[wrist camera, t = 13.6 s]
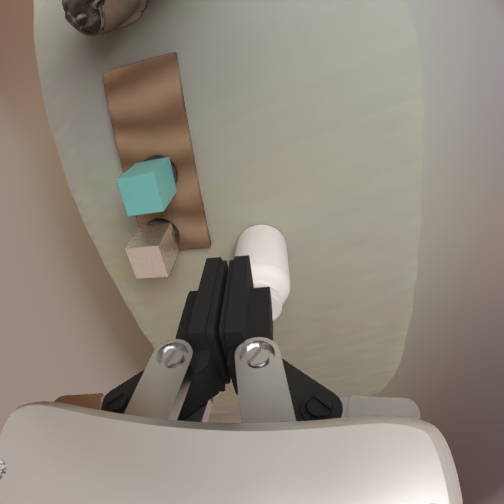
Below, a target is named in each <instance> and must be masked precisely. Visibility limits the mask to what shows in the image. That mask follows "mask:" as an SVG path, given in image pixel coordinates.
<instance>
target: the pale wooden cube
mask: <svg viewBox="0 0 504 504" xmlns="http://www.w3.org/2000/svg"><path fill="white" fill-rule="evenodd" d="M179 239H180V235H179V231H178V229H177V227H176V226H175V225H174V224H173V223H172V222H170V221H169V220H167V219H163V218H156V219H153V220H151V221H149V222H148V223H147V225H144V226H140V227H139V229H138V230H137V232H136V233H135V235H134V236H133V238H132V239H131V241H130V242H129V244H128V245H127V247H126V248H125V250H126V253H127V255H128V258H129V261H130V263H131V266H132V269H133V271H134V274H135V276H136V278H155V277H169V274H170V272H171V269H172V267H173V264H174V262H175V259H176V257H177V255H178V252H179V250H178V246H177V245H178V243H179Z"/></svg>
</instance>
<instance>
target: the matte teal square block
mask: <svg viewBox="0 0 504 504" xmlns="http://www.w3.org/2000/svg"><path fill="white" fill-rule="evenodd" d="M117 183H118V186H119V190H120V193H121V196H122V200H123V203H124V206H125V209H126V213H127V216H134V215H141V214H148V213H155V212H162V211H164V210H165V209H166V207H167V206H168V204H169V203H170V201H171V200H172V198H173V197H174V195H175V193H176V192H177V189H176V184H175V180H174V176H173V171H172V167H171V162H170V158H169V157H165V158H160V159H155V160H150V161H145V162H140V163H136V164H134V165H133V166H132V167H131V168H129V169H128V170H127V171H126V172H125V173H123V174H122V175H121V176H120V177H119V178H118V179H117Z"/></svg>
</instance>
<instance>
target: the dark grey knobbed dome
mask: <svg viewBox="0 0 504 504" xmlns="http://www.w3.org/2000/svg"><path fill="white" fill-rule="evenodd" d="M160 158H165V156H162V155H153V156H150V157H148V158H147V159H145V160H144V161H143V162H145V161H150V160H155V159H160ZM170 162H171V167H172V171H173V176H174V180H175V184H176V183H177V180H178V171H177V168H176V166H175V164H174V163H173V162H172V161H171V160H170Z"/></svg>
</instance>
